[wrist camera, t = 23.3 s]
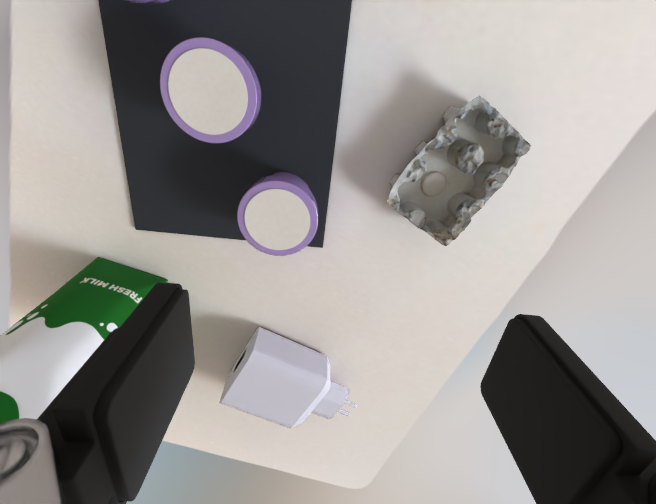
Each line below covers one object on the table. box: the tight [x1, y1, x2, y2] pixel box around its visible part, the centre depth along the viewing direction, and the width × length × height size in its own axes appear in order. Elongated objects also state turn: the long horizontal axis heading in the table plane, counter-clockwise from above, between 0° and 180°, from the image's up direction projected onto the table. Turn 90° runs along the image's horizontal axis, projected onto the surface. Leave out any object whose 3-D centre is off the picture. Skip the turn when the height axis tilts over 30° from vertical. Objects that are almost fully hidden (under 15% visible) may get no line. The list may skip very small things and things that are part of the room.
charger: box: [219, 327, 357, 428], centre depth 39 cm, size 5×9×15 cm
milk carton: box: [0, 257, 168, 423], centre depth 27 cm, size 9×9×20 cm
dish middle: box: [160, 37, 261, 143], centre depth 24 cm, size 6×6×5 cm
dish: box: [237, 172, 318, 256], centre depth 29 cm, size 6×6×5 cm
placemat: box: [99, 0, 352, 248], centre depth 27 cm, size 26×18×1 cm
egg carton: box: [386, 96, 531, 246], centre depth 28 cm, size 11×8×4 cm
